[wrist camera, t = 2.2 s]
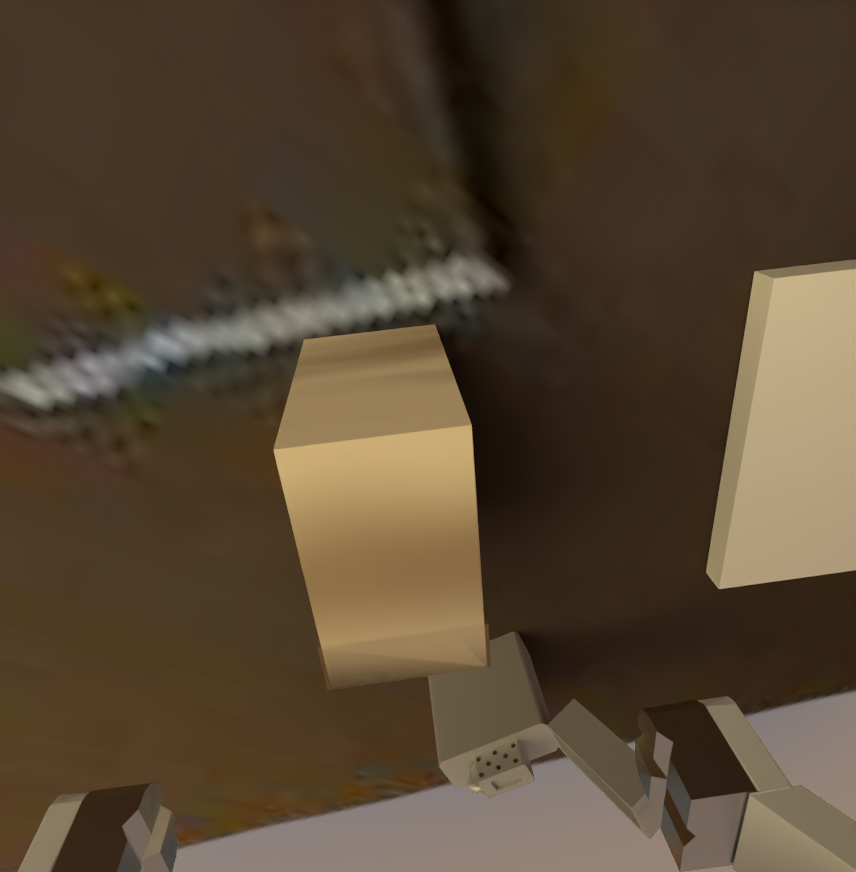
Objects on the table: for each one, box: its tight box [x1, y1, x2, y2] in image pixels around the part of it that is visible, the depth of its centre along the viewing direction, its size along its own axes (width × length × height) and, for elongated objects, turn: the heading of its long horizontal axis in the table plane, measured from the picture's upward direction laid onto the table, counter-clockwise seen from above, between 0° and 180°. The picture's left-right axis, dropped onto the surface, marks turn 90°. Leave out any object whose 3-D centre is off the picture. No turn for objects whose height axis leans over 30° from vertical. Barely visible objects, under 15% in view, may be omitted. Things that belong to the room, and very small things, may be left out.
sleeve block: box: [273, 324, 491, 690], centre depth 17 cm, size 7×4×7 cm, turn 5°
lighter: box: [428, 632, 663, 838], centre depth 21 cm, size 7×2×8 cm, turn 115°
